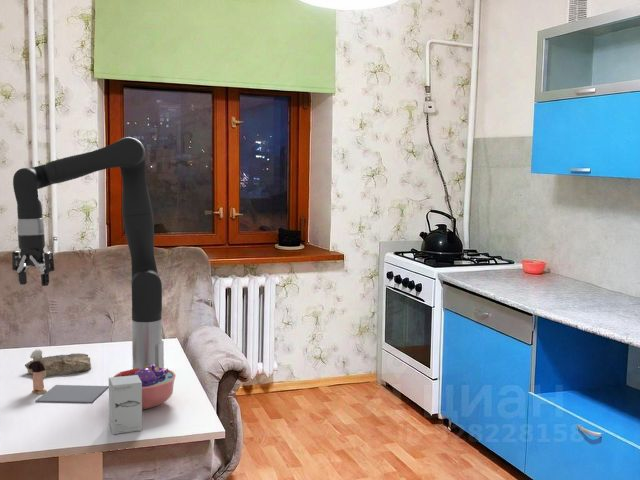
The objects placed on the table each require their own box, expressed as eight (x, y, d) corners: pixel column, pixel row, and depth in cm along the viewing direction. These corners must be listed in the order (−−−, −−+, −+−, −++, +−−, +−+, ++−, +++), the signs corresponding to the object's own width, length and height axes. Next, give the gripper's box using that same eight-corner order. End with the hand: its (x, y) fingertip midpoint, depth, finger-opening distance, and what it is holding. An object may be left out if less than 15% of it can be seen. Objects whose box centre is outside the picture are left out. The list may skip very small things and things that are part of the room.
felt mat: (108, 387, 201) (108, 386, 201) (92, 403, 187) (91, 401, 187) (56, 386, 202) (56, 384, 202) (35, 401, 188) (35, 400, 188)
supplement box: (112, 435, 165) (111, 385, 164) (108, 425, 172) (108, 376, 170) (143, 431, 168) (142, 382, 167) (138, 421, 175) (137, 373, 173)
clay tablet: (27, 381, 207) (94, 371, 217) (26, 365, 207) (94, 356, 217) (23, 370, 220) (87, 361, 229) (22, 355, 219) (86, 347, 229)
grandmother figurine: (53, 391, 197) (52, 349, 196) (44, 395, 193) (42, 352, 192) (32, 388, 199) (31, 346, 198) (22, 392, 196) (21, 349, 195)
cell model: (177, 392, 198) (176, 354, 197) (174, 416, 178) (174, 374, 177) (117, 394, 195) (117, 356, 194) (108, 419, 175) (107, 377, 174)
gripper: (3, 233, 206) (7, 285, 208) (40, 234, 201) (43, 288, 203) (22, 231, 213) (25, 282, 215) (58, 232, 208) (61, 284, 210)
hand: (34, 284), depth 209 cm, fingers open, 8 cm apart
